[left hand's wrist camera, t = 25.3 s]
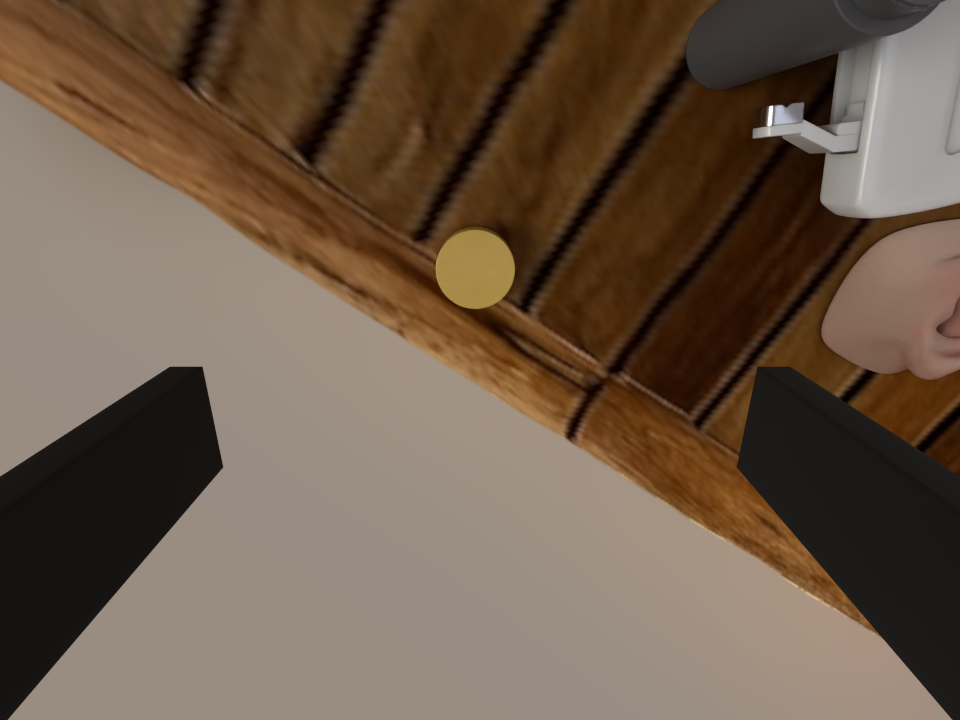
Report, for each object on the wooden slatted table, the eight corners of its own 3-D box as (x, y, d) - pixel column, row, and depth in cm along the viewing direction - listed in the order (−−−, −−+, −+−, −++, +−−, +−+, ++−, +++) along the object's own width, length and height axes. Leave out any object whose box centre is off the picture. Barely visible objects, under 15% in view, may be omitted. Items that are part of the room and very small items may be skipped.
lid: (492, 313, 37) (493, 321, 35) (425, 282, 36) (423, 288, 34) (526, 247, 35) (529, 252, 33) (457, 212, 35) (456, 215, 33)
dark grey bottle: (691, 1, 30) (889, -157, 16) (770, 1, 30) (1041, -155, 16) (680, 90, 32) (850, 21, 17) (755, 90, 32) (988, 23, 17)
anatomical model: (843, 391, 35) (897, 216, 31) (808, 370, 38) (852, 211, 34) (1035, 398, 35) (1114, 225, 31) (981, 376, 39) (1045, 219, 35)
